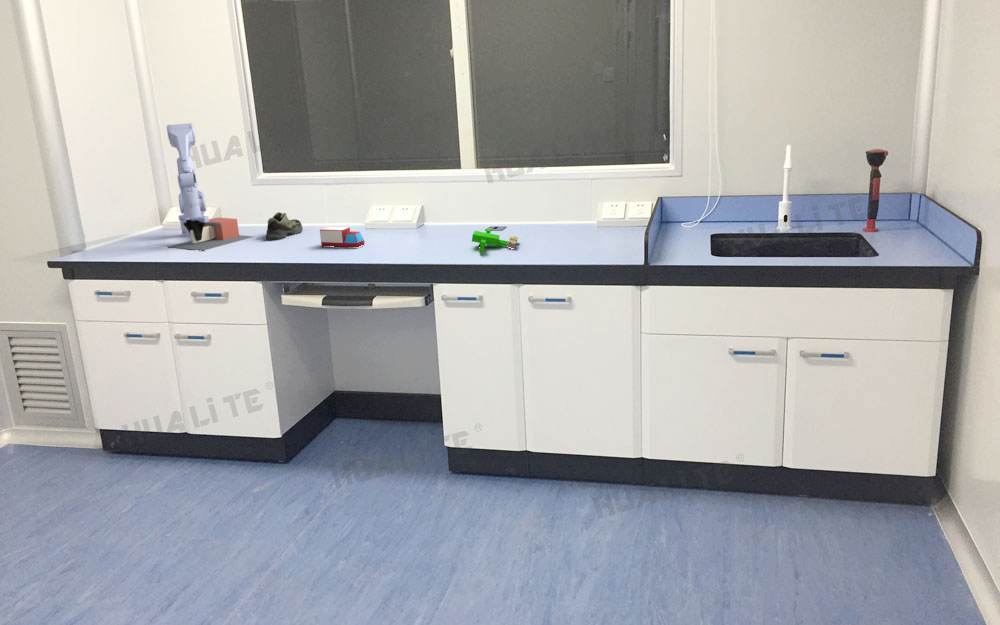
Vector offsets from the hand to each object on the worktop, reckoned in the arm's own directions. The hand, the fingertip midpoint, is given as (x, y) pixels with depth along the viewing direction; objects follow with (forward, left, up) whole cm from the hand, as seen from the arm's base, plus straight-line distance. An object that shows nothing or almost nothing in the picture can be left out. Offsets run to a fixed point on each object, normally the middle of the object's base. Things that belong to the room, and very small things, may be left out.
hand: (197, 240), depth 312 cm
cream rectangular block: (0, +3, -1) cm, 4 cm away
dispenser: (0, +12, -1) cm, 12 cm away
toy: (+114, +31, -2) cm, 118 cm away
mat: (+3, +4, -2) cm, 6 cm away
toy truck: (+59, +16, -2) cm, 61 cm away
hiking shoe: (+22, +25, -2) cm, 33 cm away
